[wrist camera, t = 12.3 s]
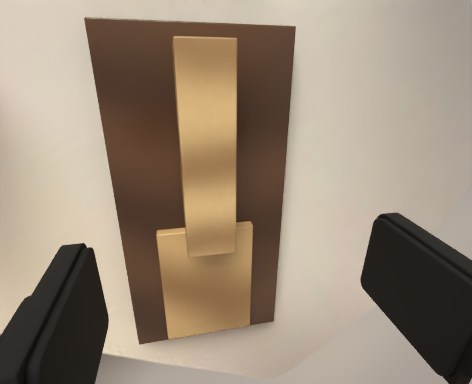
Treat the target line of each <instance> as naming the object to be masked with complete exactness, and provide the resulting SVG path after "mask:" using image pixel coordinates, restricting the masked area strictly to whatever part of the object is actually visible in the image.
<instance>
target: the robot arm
mask: <svg viewBox="0 0 472 384" xmlns="http://www.w3.org/2000/svg"><path fill="white" fill-rule="evenodd" d="M361 285H362V287H363V289H364V290H365V291H366V293H367V294H368V295H369V296H370V297H371V298H372V299H373V301H374V302H375V303H376V304H377V305H378V306H379V308H380V309H381V310H382V311H383V312H384V313H385V314H386V316H387V317H388V318H389V319H390V320H391V321H392V323H393V324H394V325H395V326H396V327H397V328H398V329H399V331H400V332H401V333H402V334H403V335H404V336H405V338H406V339H407V340H408V341H409V342H410V343H411V345H412V346H413V347H414V348H415V349H416V350H417V352H418V353H419V354H420V355H421V356H422V357H423V358H424V360H425V361H426V362H427V363H428V364H429V365H430V367H431V368H432V369H433V370H434V371H435V372H436V373H437V374H438V375H440V376H443V378H444V379H445V380H446V381H447V382H448V383H449V384H469V382H470V380H471V378H472V260H470V259H469V258H467V257H466V256H464V255H463V254H461V253H459V252H458V251H457V250H455V249H453V248H452V247H450V246H449V245H447V244H445V243H444V242H443V241H441V240H440V239H438V238H436V237H435V236H433V235H432V234H430V233H429V232H427V231H426V230H424V229H423V228H421V227H419V226H418V225H416V224H415V223H413V222H412V221H410V220H409V219H407V218H405V217H404V216H402V215H401V214H399V213H387V214H381V215H379V216H378V217H377V219H375V221H374V223H373V227H372V232H371V236H370V240H369V245H368V249H367V253H366V257H365V262H364V266H363V270H362V275H361ZM108 322H109V319H108V312H107V308H106V303H105V299H104V294H103V290H102V285H101V281H100V276H99V272H98V268H97V263H96V259H95V254H94V250H93V248H87V247H86V245H85V244H84V243H81V244H71V245H63V246H61V247H60V249H59V250H58V252H57V254H56V255H55V257H54V259H53V260H52V262H51V264H50V265H49V267H48V269H47V270H46V272H45V274H44V275H43V277H42V278H41V280H40V282H39V283H38V285H37V287H36V288H35V290H34V292H33V293H32V295H31V296H28V297H26V298H25V299H24V300H23V301H22V303H21V304H20V306H19V307H18V309H17V311H16V312H15V314H14V315H13V317H12V319H11V320H10V322H9V323H8V325H7V327H6V328H5V330H4V331H3V333H2V335H1V336H0V384H95V380H96V376H97V372H98V367H99V363H100V359H101V355H102V351H103V347H104V342H105V338H106V334H107V330H108Z"/></svg>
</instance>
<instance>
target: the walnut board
mask: <svg viewBox="0 0 472 384" xmlns="http://www.w3.org/2000/svg"><path fill="white" fill-rule="evenodd" d="M84 19H85V25H86V31H87V37H88V43H89V49H90V55H91V61H92V67H93V73H94V79H95V85H96V91H97V97H98V103H99V109H100V115H101V121H102V126H103V132H104V138H105V144H106V150H107V156H108V162H109V168H110V174H111V180H112V186H113V192H114V198H115V204H116V210H117V216H118V222H119V228H120V233H121V239H122V245H123V251H124V257H125V263H126V269H127V275H128V281H129V287H130V293H131V299H132V305H133V311H134V317H135V323H136V329H137V335H138V340H139V344H145V343H150V342H156V341H162V340H168V332H167V324H166V315H165V306H164V298H163V289H162V280H161V272H160V263H159V255H158V246H157V237H156V234H157V230H165V229H175V228H185V224H184V210H183V196H182V182H181V168H180V154H179V140H178V125H177V111H176V97H175V83H174V69H173V55H172V40H173V37H174V36H192V37H224V38H237V163H236V222H245V221H251V223H252V225H253V242H252V274H251V305H250V325H255V324H261V323H266V322H272V321H274V309H275V296H276V283H277V269H278V256H279V243H280V229H281V216H282V203H283V190H284V176H285V163H286V150H287V136H288V123H289V110H290V96H291V83H292V70H293V56H294V43H295V30H296V27H295V26H277V25H253V24H229V23H206V22H182V21H158V20H135V19H111V18H87V17H85V18H84Z"/></svg>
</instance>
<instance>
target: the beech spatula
mask: <svg viewBox="0 0 472 384" xmlns="http://www.w3.org/2000/svg"><path fill="white" fill-rule="evenodd" d="M172 55H173V69H174V83H175V97H176V111H177V125H178V140H179V154H180V168H181V182H182V196H183V210H184V224H185V228H175V229H165V230H157V234H156V237H157V246H158V255H159V263H160V272H161V280H162V289H163V298H164V306H165V315H166V324H167V332H168V339H175V338H181V337H187V336H192V335H198V334H204V333H210V332H215V331H221V330H227V329H233V328H238V327H244V326H249V325H250V305H251V274H252V242H253V225H252V223H251V221H245V222H236V163H237V38H224V37H192V36H174V37H173V40H172Z"/></svg>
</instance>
